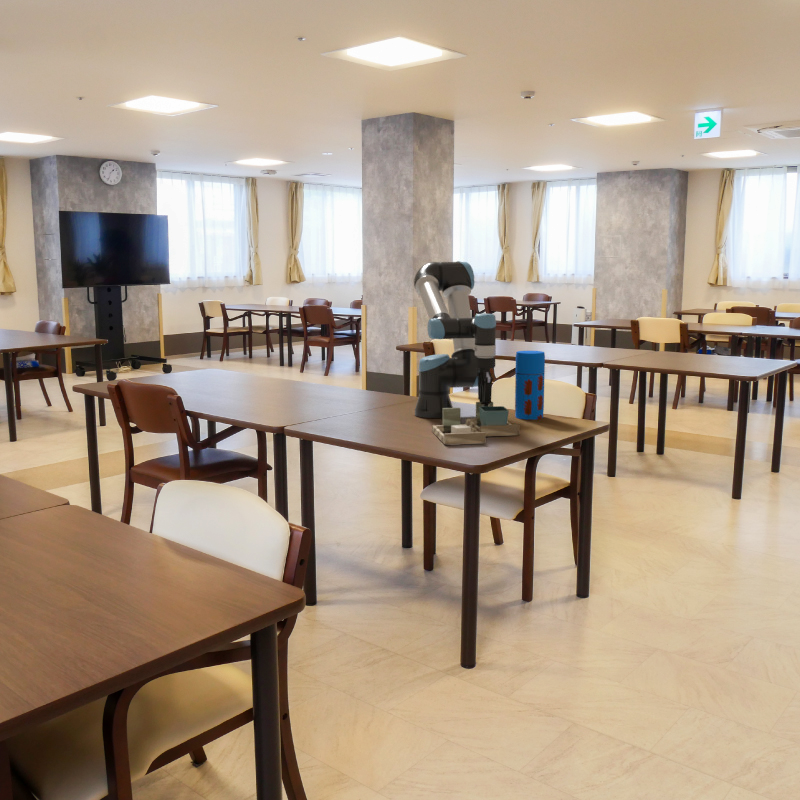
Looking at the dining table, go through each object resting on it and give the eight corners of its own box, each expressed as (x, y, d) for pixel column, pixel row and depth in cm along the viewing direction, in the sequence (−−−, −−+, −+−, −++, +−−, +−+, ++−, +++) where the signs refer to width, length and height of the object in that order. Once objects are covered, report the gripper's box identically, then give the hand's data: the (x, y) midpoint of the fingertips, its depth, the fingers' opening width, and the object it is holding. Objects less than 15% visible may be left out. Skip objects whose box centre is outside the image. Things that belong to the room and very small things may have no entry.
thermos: (549, 417, 318) (550, 352, 314) (530, 420, 311) (531, 354, 307) (527, 413, 326) (529, 350, 322) (509, 416, 320) (510, 352, 315)
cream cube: (451, 440, 279) (451, 425, 278) (464, 439, 280) (464, 424, 280) (456, 443, 274) (456, 428, 273) (470, 442, 276) (470, 427, 275)
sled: (432, 430, 292) (431, 408, 291) (469, 429, 294) (469, 407, 293) (444, 444, 270) (444, 420, 269) (485, 443, 272) (485, 419, 270)
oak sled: (465, 423, 305) (465, 402, 303) (501, 422, 307) (501, 401, 305) (480, 436, 282) (480, 413, 281) (519, 435, 284) (519, 412, 283)
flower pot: (508, 436, 284) (509, 410, 282) (483, 436, 283) (483, 410, 282) (503, 431, 293) (503, 405, 291) (478, 431, 292) (478, 406, 290)
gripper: (470, 354, 307) (469, 417, 311) (479, 359, 293) (479, 425, 297) (489, 354, 309) (489, 416, 312) (500, 358, 294) (499, 424, 298)
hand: (484, 420), depth 304 cm, fingers closed on oak sled, 2 cm apart
